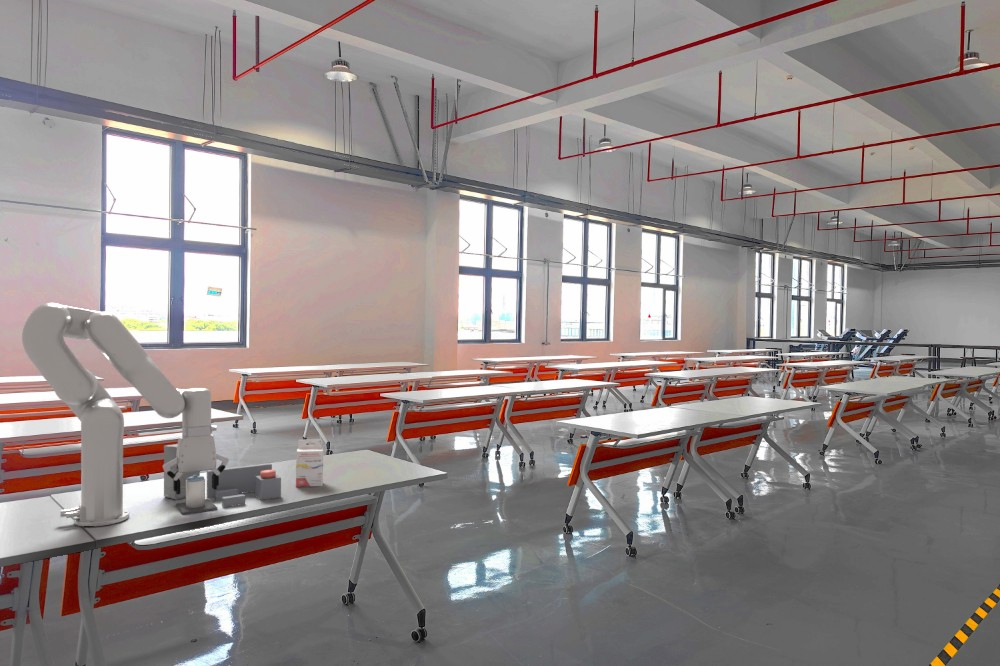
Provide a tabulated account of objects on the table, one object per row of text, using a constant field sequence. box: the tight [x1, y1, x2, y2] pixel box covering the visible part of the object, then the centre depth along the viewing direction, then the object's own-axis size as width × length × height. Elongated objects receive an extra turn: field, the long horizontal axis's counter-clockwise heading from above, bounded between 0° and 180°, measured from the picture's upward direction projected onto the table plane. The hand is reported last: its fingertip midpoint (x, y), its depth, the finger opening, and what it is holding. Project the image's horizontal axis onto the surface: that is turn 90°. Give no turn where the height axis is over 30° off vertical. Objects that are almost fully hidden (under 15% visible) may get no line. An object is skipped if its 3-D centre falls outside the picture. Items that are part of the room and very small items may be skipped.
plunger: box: [261, 469, 277, 479], centre depth 199 cm, size 4×4×6 cm
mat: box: [175, 498, 218, 516], centre depth 186 cm, size 9×11×1 cm
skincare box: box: [163, 443, 201, 501], centre depth 198 cm, size 8×7×16 cm
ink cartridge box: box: [295, 438, 324, 488], centre depth 213 cm, size 9×5×15 cm, turn 105°
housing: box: [206, 462, 282, 508], centre depth 197 cm, size 19×15×8 cm
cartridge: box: [185, 475, 206, 508], centre depth 186 cm, size 5×5×8 cm
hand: (196, 490), depth 186 cm, fingers open, 9 cm apart
